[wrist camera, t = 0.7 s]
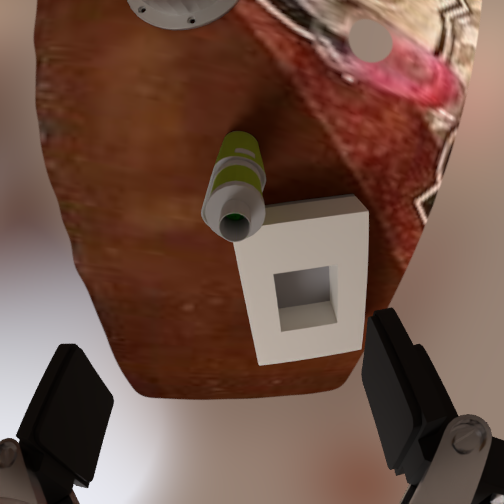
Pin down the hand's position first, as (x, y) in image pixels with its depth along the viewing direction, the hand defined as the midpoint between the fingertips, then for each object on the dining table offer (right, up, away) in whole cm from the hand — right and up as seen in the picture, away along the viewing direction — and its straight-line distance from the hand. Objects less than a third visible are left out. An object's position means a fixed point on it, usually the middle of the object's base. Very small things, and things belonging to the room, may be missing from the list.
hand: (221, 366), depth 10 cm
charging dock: (+7, +1, +32) cm, 32 cm away
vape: (-1, +14, +24) cm, 28 cm away
